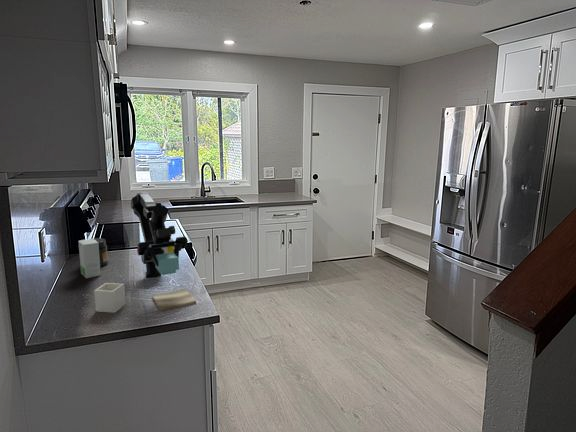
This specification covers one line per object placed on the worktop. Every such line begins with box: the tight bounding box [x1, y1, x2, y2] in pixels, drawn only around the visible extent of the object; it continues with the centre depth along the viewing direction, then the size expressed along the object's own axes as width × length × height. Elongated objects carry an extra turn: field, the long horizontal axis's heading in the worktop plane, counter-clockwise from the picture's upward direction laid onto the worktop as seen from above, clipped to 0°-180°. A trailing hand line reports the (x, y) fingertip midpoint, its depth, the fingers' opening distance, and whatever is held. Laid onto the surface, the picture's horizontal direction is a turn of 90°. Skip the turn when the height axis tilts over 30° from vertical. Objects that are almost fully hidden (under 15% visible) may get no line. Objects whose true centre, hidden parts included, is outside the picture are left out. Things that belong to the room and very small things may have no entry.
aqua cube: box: [155, 252, 180, 276], centre depth 151 cm, size 7×7×6 cm
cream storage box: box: [93, 282, 127, 313], centre depth 141 cm, size 7×7×8 cm
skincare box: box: [78, 238, 102, 279], centre depth 173 cm, size 8×7×16 cm
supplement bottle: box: [162, 235, 175, 254], centre depth 196 cm, size 7×7×13 cm
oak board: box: [152, 288, 197, 312], centre depth 147 cm, size 13×13×1 cm
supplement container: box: [93, 237, 109, 268], centre depth 186 cm, size 10×10×12 cm
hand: (167, 264), depth 150 cm, fingers closed on aqua cube, 7 cm apart
